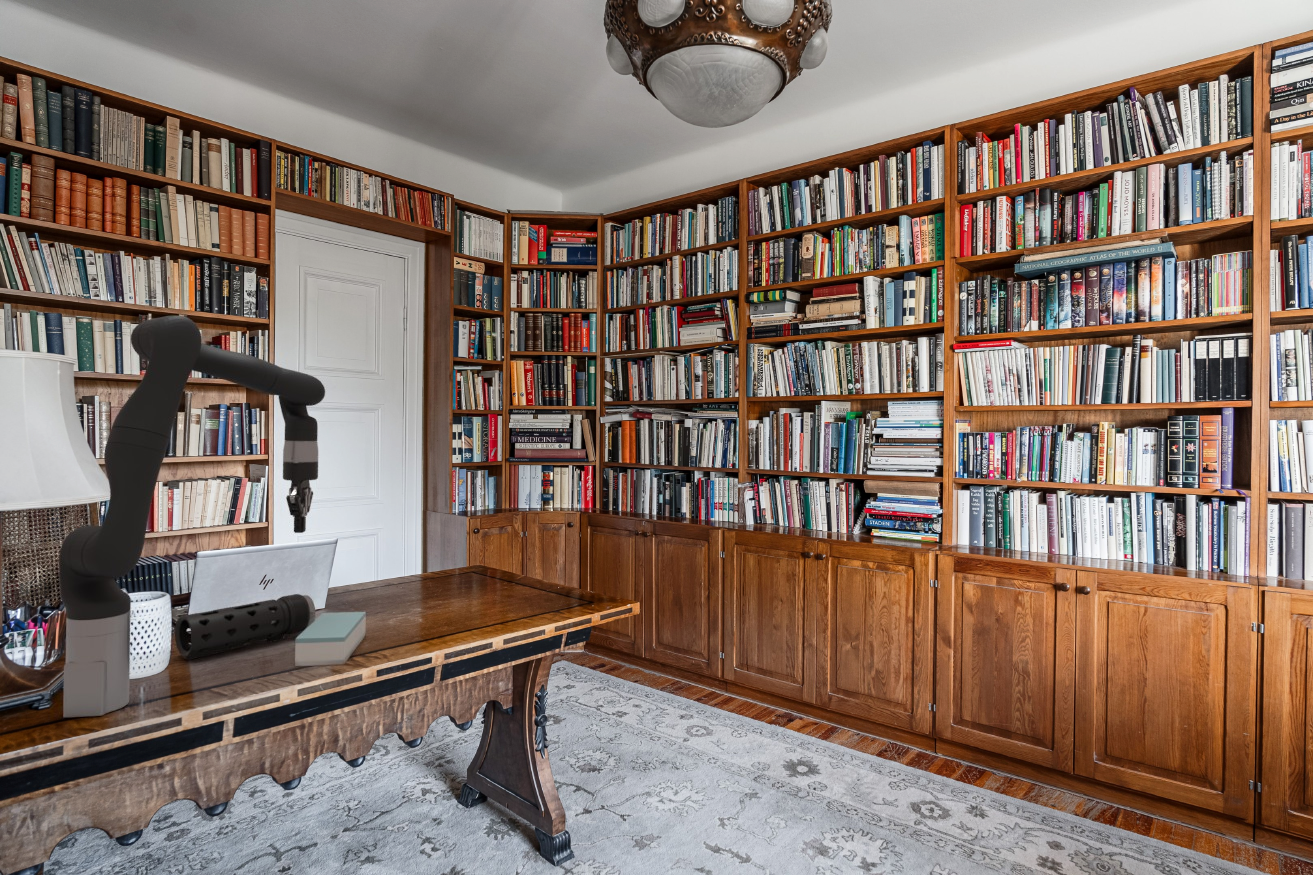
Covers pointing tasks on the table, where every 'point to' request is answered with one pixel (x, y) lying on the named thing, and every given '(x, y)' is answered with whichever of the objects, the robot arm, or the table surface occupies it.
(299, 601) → the muzzle brake
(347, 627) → the trough lid
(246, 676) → the table surface
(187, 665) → the table surface
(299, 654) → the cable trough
